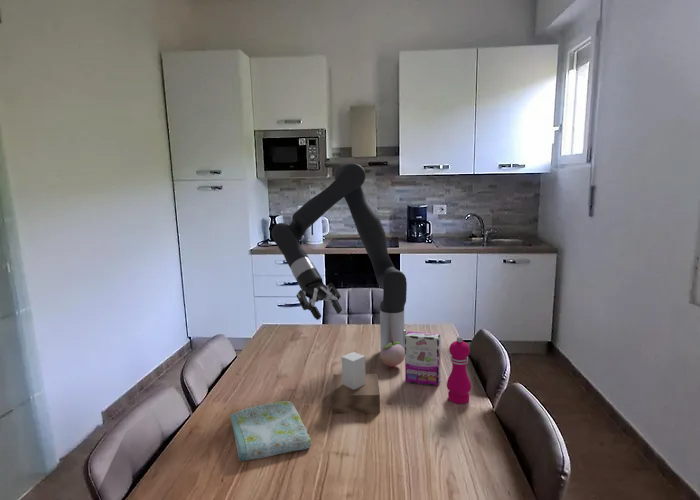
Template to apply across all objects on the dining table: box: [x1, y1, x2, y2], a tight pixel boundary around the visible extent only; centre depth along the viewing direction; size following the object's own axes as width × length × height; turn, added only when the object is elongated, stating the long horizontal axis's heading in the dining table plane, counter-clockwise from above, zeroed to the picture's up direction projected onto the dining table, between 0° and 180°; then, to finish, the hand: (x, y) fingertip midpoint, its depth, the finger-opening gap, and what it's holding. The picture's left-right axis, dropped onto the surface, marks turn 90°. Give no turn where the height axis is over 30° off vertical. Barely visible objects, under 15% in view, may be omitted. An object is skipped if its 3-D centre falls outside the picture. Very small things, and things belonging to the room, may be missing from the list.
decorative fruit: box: [379, 341, 405, 368], centre depth 160 cm, size 9×8×10 cm
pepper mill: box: [446, 336, 472, 405], centre depth 136 cm, size 7×7×20 cm
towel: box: [229, 400, 312, 462], centre depth 120 cm, size 18×21×5 cm
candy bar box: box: [404, 331, 442, 387], centre depth 148 cm, size 11×5×16 cm, turn 71°
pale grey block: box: [341, 351, 366, 390], centre depth 136 cm, size 5×5×9 cm
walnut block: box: [330, 373, 381, 415], centre depth 137 cm, size 14×14×6 cm
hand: (329, 315), depth 141 cm, fingers open, 8 cm apart
